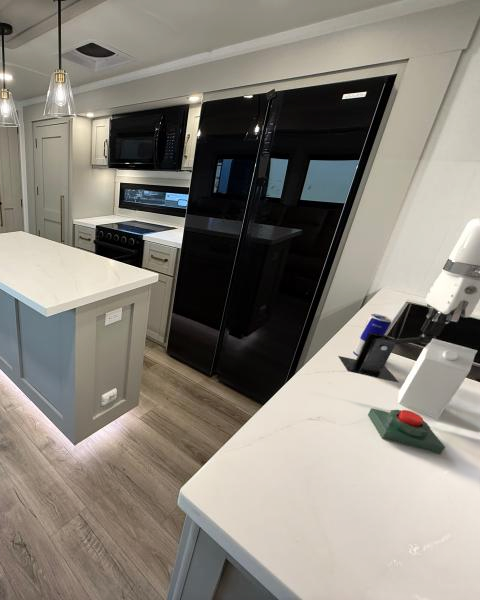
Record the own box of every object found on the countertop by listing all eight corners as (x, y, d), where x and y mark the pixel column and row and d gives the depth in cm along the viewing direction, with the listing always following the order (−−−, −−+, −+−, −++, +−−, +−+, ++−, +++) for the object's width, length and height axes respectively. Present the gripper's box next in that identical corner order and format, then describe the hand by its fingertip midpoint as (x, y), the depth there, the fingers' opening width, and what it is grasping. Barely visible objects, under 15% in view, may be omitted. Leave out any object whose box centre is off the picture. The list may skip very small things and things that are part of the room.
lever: (432, 340, 86) (431, 330, 85) (439, 345, 83) (438, 335, 82) (371, 346, 92) (370, 336, 91) (376, 351, 89) (374, 341, 88)
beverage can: (358, 361, 98) (378, 319, 92) (348, 352, 103) (366, 312, 97) (375, 363, 98) (397, 321, 92) (365, 354, 102) (384, 314, 96)
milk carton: (397, 394, 84) (432, 333, 77) (434, 408, 80) (475, 345, 72) (396, 406, 79) (433, 343, 72) (436, 422, 75) (479, 356, 67)
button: (414, 418, 71) (418, 412, 70) (423, 429, 68) (427, 423, 67) (394, 413, 72) (398, 407, 71) (402, 424, 69) (406, 418, 68)
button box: (419, 428, 73) (428, 415, 71) (440, 454, 66) (450, 441, 64) (367, 414, 76) (374, 402, 75) (381, 438, 69) (389, 425, 68)
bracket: (383, 368, 95) (400, 335, 91) (397, 385, 88) (417, 350, 83) (336, 358, 99) (351, 326, 95) (346, 374, 92) (362, 340, 87)
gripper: (511, 281, 69) (466, 350, 77) (466, 264, 82) (431, 325, 89) (466, 275, 72) (426, 343, 79) (429, 260, 84) (398, 319, 92)
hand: (429, 333), depth 84 cm, fingers closed
